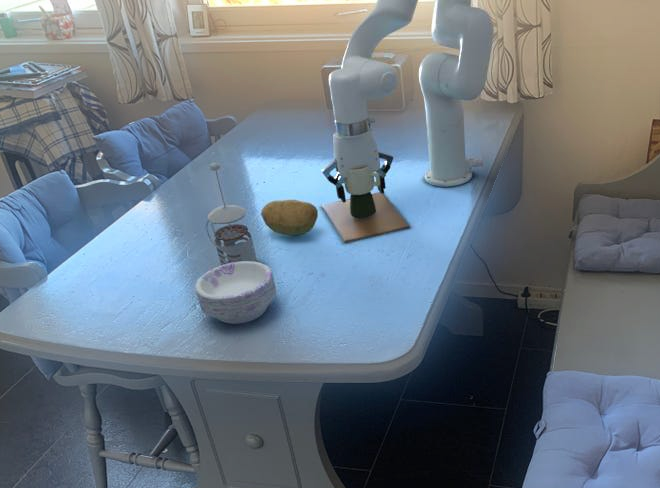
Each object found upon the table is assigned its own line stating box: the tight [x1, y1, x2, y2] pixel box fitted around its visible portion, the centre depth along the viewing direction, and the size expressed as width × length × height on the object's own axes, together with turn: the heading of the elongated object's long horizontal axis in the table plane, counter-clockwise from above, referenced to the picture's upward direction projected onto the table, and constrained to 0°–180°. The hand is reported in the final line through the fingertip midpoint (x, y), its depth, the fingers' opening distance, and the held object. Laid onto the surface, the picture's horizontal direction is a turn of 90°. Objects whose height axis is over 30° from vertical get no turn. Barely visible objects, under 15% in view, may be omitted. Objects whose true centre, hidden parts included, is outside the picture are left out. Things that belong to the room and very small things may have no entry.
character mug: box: [336, 165, 380, 218], centre depth 182 cm, size 11×7×13 cm, turn 70°
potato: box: [260, 199, 319, 236], centre depth 179 cm, size 10×14×8 cm
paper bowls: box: [194, 261, 277, 325], centre depth 152 cm, size 15×15×8 cm
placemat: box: [321, 192, 411, 244], centre depth 186 cm, size 16×22×1 cm
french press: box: [205, 162, 258, 266], centre depth 161 cm, size 10×12×25 cm
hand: (362, 196), depth 183 cm, fingers open, 9 cm apart
